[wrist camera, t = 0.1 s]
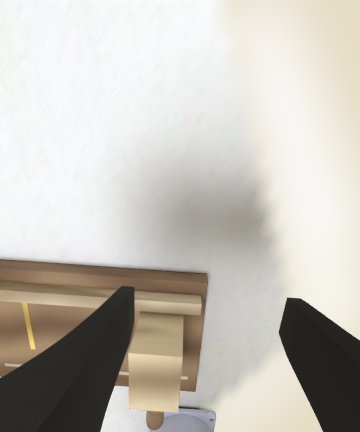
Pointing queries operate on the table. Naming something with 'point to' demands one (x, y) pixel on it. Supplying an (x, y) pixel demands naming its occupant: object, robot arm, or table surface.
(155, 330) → the block
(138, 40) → the table surface
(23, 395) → the robot arm
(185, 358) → the walnut board
